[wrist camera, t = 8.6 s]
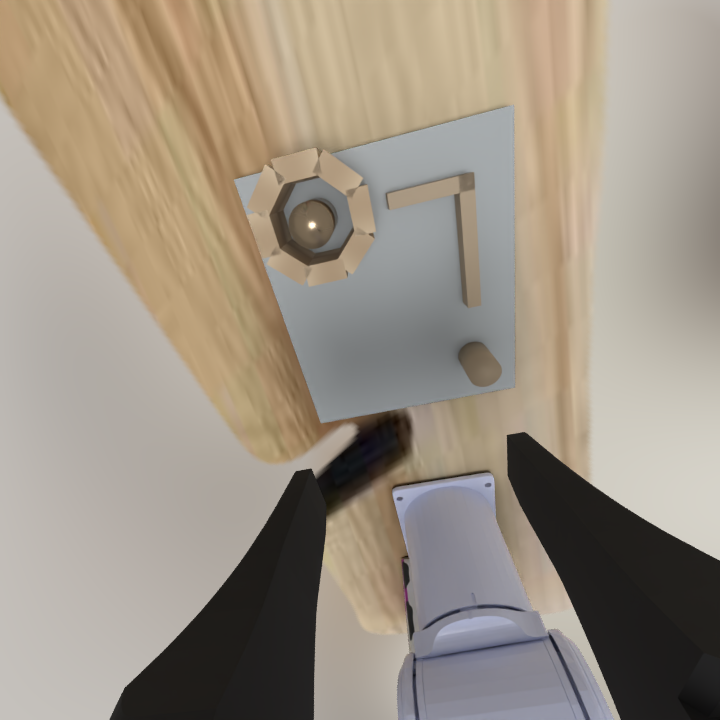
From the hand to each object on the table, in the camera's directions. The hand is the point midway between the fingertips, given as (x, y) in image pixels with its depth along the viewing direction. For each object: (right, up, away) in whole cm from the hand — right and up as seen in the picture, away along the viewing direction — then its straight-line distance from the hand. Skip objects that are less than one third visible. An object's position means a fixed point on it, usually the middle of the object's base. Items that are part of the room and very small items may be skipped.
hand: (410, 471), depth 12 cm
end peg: (-4, +11, +4) cm, 13 cm away
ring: (-4, +11, +4) cm, 13 cm away
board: (0, +8, +7) cm, 11 cm away
